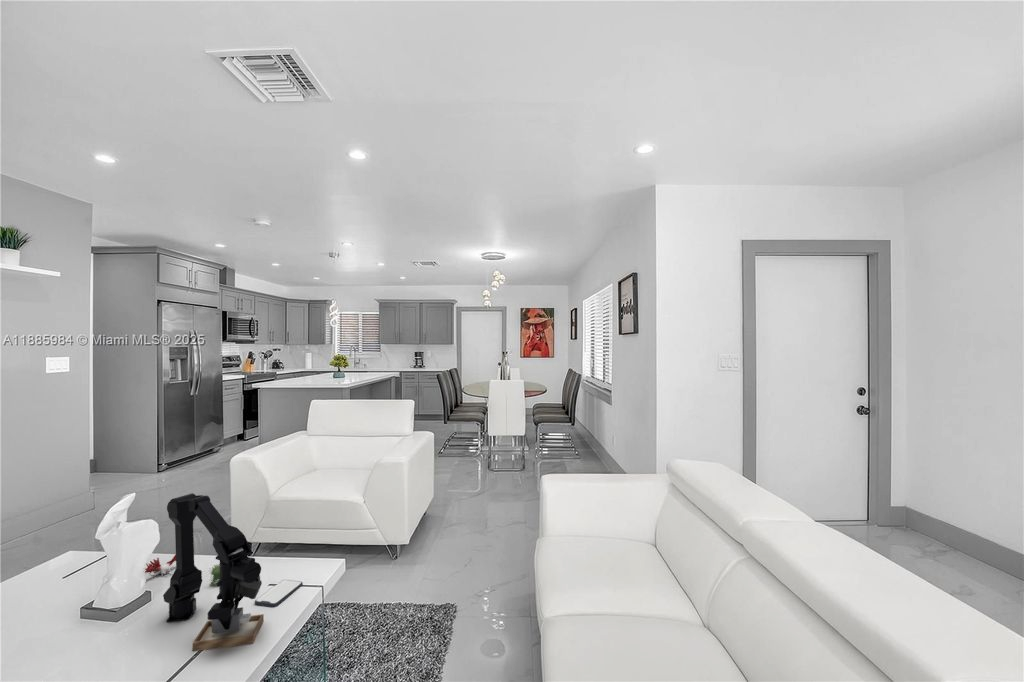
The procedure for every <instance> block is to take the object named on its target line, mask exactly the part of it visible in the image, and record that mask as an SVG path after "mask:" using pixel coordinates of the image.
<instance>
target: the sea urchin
mask: <svg viewBox="0 0 1024 682" xmlns="http://www.w3.org/2000/svg"><path fill="white" fill-rule="evenodd" d="M201 571H202V570H201ZM203 572H204V571H202V573H203ZM206 572H209V573H208V574H207V576H208V575H209V578H210V581H208V582H209V583H208V584H209V586H210V587H213V588H214V587H217V582H218V581H219V576H220V563H218V564H214V565H213V566H211V569H210V570H206ZM206 572H205V573H203V574H206ZM210 574H211V575H210Z"/></svg>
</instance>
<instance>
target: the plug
mask: <svg viewBox="0 0 1024 682" xmlns="http://www.w3.org/2000/svg"><path fill="white" fill-rule="evenodd" d="M251 616H252V613H244V607H243V606H242V607H238V608H237V609H236V611H235V612H234V613H233V614H232V618H231V623H230V628H229V629H228V630H225V629H224V627H223V626H222V624H221V623H220V621H219V620H218V619H215V620H212V633H214V634H217V633H225V632H233V631H239V629H240V628H241V626H242V624H243V623H248V622H249V620H250V618H251Z"/></svg>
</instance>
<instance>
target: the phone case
mask: <svg viewBox="0 0 1024 682" xmlns="http://www.w3.org/2000/svg"><path fill="white" fill-rule="evenodd" d="M301 587H303V581H301V580H300V581H299V580H290V579H283V580H281V581H280V582H278V583H277V584H276V585H274V586H273V587H272V588H270V589H268V590H267V591H266V592H264V593H263V594H262V595H260V596H259V597H257V598H255V601H254V605H255V606H257V607H264V608H265V607H266V608H276V607H278V606H279V605H281V604H282V603H283V602H285V600H287V599H288V598H289V597H291V596H292V595H293V594H294V593H296V591H297V590H299V589H300V588H301Z"/></svg>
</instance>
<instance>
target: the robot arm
mask: <svg viewBox="0 0 1024 682" xmlns="http://www.w3.org/2000/svg"><path fill="white" fill-rule="evenodd" d="M169 500H170V501H168V502H167V506H166V511H167V514H168V518H169V520H171V522H172V523H173V524H174V530H175V531H174V533H175V538H174V539H175V541H174V542H175V555H176V561H175V570H174V572H173V573H172V575H171V577H170V581H169V582H170V583H169V587H168V588H167V590H166V591H165V592H164V593H163V594H162V595H163V596H162V597H163V602H165V603H168V618H167V619H166V623H169V622H170V623H171V622H178V621H187V620H189V619H190V618H191V617H192V615H193V614H194V613H195V612H196V611H197V609H198V608H197V598H196V597H195V596H196V595H195V594H198V593H199V592H200V591H201V586H202V583H203V579H202V578H203V576H202V575H203V572H202V570H201V569H199V568H198V567H197V566H196V565H195V543H194V541H195V539H194V537H195V536H194V521H195V519H196V517H197V518H198V519H199V520H200V522H201V523H202V525H203V526H204V527H205V528H206V529H207V531H208V532H209V534H210V535H211V537H212V538H213V539H212V546H213V548H214V550H215V552H216V554H217V555H216V556H215V560H216V561H217V560H218V561H219V564H220V576H219V581H216V584H217V585H216V587H219V589H218V590H219V591H218V592H219V593H218V594H217V595H216V600H218V601H219V602H216V603H214V604H213V605H212V606H211V607H210V608H209V611H208V612H207V621H210V620H215V619H218V620H219V621H220V623H221V624H222V626H223V627H224V629H225V630H228V629H229V628H230V623H231V618H232V614H233V613H234V612H235V611H236V609H237V608H239V604H240V601H242V600H243V598H247V599H250V600H254V599H255V600H256V599H257V595H258V593H259V592H260V589H261V587H262V584H263V583H262V580H261V575H260V574H261V571H262V566H261V565H260V563H258V562H256V558H254V557H250V556H249V555H251V554H253V551H252V549H251V548H252V547H251V544H250V543H249V542H248V540H247V538H246V535H245V534H244V532H243V531H241V530H240V529H239V528H238V527H236V526H232V525H229V524H228V522H227V521H226V520H225V519H224V517H223V515H221V514H220V512H219V511H218V510H217V509H216V507H215V506H214V505H213V503H212V502H211V498H210V496H209V495H203V494H198V495H196V494H195V493H192V492H191V493H188V494H184V495H181V496H177V497H175V498H174V497H173V498H171V499H169ZM238 551H239V552H238Z"/></svg>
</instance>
